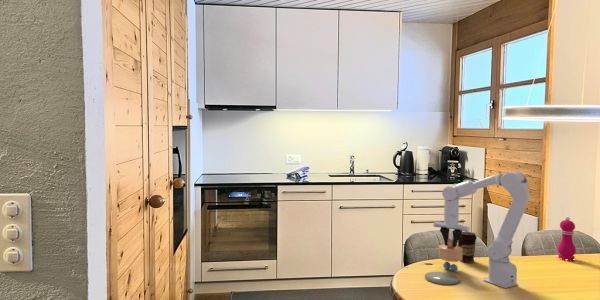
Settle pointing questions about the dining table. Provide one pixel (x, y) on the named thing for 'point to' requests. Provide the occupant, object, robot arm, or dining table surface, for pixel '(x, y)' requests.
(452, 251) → the lid with knob
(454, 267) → the blue marble
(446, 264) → the blue marble
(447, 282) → the slate plate
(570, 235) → the pepper mill
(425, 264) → the dining table surface
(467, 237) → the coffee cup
